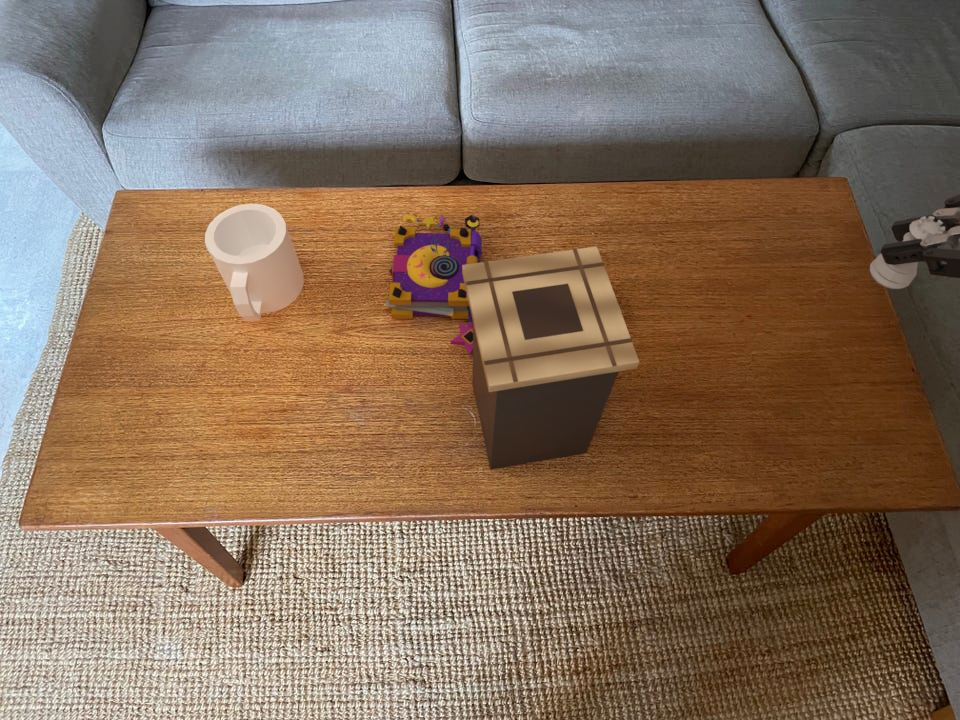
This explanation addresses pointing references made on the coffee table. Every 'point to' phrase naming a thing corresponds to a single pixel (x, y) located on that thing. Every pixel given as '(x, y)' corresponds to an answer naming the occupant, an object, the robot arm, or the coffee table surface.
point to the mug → (255, 259)
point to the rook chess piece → (906, 272)
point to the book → (434, 273)
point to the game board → (547, 319)
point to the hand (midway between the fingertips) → (890, 243)
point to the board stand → (538, 416)
